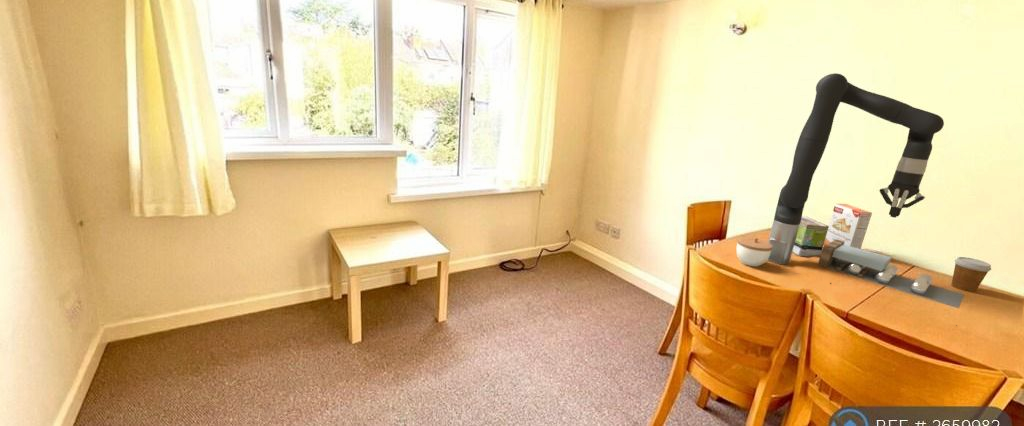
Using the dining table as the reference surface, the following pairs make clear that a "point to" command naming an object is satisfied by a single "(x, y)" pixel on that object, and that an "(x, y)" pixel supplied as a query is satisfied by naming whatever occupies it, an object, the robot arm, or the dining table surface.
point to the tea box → (810, 237)
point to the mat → (905, 284)
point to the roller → (855, 268)
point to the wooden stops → (827, 258)
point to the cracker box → (848, 225)
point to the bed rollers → (916, 288)
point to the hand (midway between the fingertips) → (893, 216)
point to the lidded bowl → (753, 251)
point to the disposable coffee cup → (969, 273)
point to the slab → (862, 257)
